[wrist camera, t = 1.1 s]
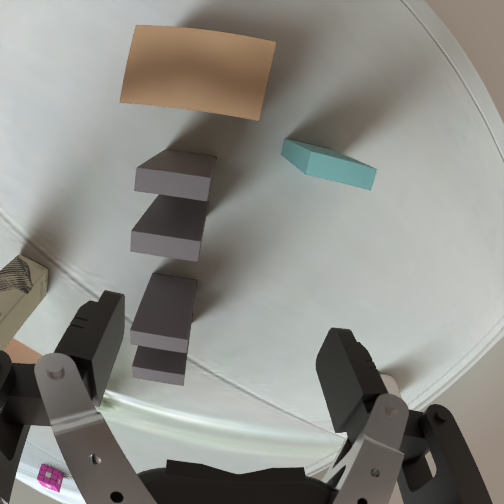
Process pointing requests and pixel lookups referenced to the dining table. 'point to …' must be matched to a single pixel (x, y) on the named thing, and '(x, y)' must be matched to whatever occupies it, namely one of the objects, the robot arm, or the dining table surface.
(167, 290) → the domino
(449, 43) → the dining table surface
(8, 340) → the box
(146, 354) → the domino
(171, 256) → the domino
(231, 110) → the end block
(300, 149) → the domino
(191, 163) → the domino
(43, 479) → the puzzle toy
